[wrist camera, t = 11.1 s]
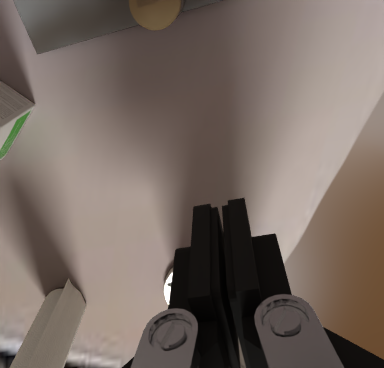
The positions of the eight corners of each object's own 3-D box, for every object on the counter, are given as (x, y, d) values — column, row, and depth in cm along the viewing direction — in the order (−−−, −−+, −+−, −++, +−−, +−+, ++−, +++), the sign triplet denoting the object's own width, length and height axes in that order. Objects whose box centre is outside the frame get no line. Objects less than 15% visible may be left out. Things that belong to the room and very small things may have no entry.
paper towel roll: (69, 321, 57) (1, 486, 39) (38, 299, 55) (-49, 462, 37) (100, 300, 55) (44, 466, 36) (69, 277, 53) (-8, 439, 34)
